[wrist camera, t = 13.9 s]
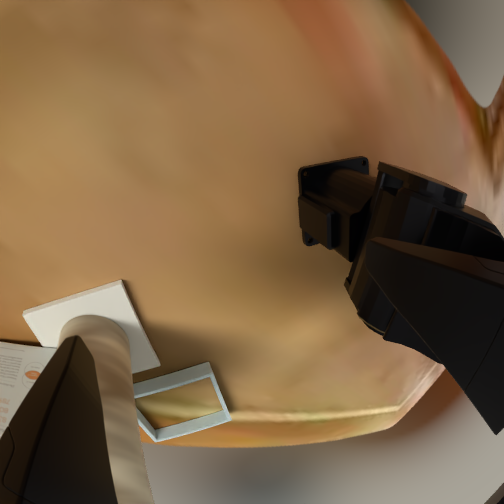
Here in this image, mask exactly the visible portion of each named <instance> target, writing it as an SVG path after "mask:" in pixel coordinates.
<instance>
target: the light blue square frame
mask: <svg viewBox="0 0 504 504" xmlns="http://www.w3.org/2000/svg"><path fill="white" fill-rule="evenodd" d="M208 377H210V378H211V381H212V383H213V386H214V388H215V391H216V393H217V395H218V398H219V400H220V403H221V405H222V407H223V410H222V411H219V412H216V413H213V414H209V415H206V416H203V417H200V418H196V419H193V420H190V421H186V422H183V423H179V424H176V425H172V426H168V427H164V428H160V429H156V430H155V429H154V428H153V427H152V426H151V425H150V423H149V422H148V421H147V420H146V419H145V417H144V416H143V415H142V414H141V412H140V411H139V410H138V409H137V407H136V412H137V419H138V424H139V425H140V426H141V427H142V428H143V430H144V431H145V432H146V433H147V434H148V435H149V436H150V437H151V438H152V440H153V441H154V442H159V441H163V440H167V439H171V438H175V437H179V436H182V435H186V434H189V433H193V432H196V431H200V430H203V429H206V428H210V427H213V426H216V425H219V424H222V423H225V422H228V421H231V420H232V419H231V417H230V414H229V412H228V409H227V407H226V404H225V402H224V399H223V397H222V394H221V392H220V389H219V387H218V384H217V382H216V379H215V377H214V374H213V371H212V369H211V366H210V363H209V362H206V363H203V364H199V365H196V366H193V367H190V368H187V369H183V370H180V371H177V372H174V373H170V374H167V375H163V376H160V377H156V378H153V379H149V380H146V381H142V382H138V383H134V384H133V388H134V397H135V398H139V397H143V396H147V395H150V394H154V393H158V392H161V391H165V390H168V389H172V388H175V387H179V386H182V385H185V384H189V383H192V382H195V381H198V380H201V379H205V378H208Z"/></svg>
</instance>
